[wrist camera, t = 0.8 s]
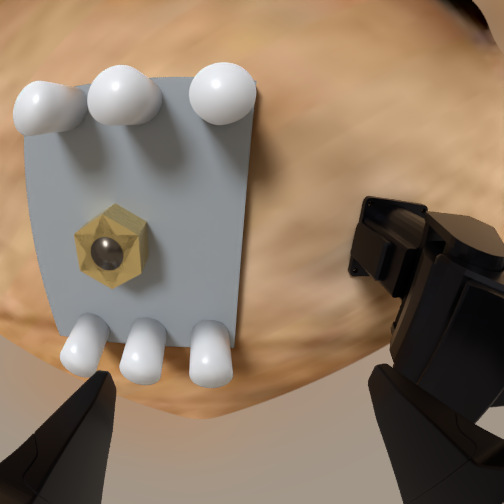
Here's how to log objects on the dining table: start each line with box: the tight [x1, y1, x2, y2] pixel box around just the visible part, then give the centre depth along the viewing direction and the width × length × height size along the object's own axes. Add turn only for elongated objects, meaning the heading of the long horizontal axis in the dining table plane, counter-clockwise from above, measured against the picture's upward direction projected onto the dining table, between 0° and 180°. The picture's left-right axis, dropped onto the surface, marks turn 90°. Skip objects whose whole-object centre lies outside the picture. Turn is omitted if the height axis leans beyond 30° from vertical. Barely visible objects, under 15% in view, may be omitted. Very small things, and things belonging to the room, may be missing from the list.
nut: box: [74, 203, 149, 289], centre depth 17 cm, size 4×5×2 cm
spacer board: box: [13, 62, 256, 388], centre depth 16 cm, size 16×20×5 cm
